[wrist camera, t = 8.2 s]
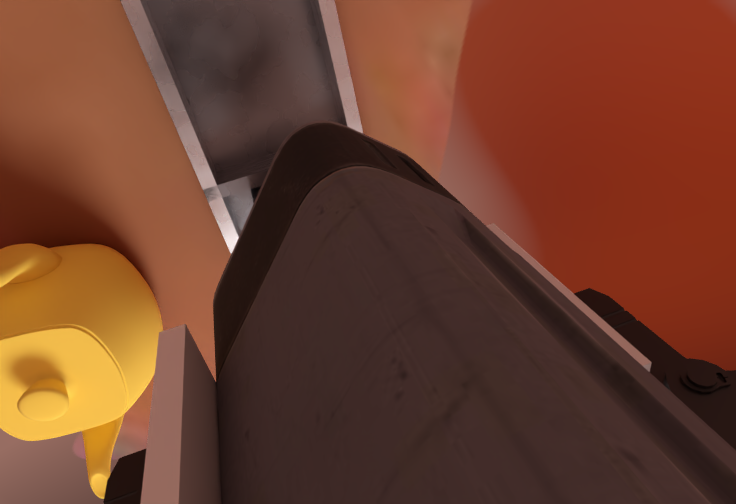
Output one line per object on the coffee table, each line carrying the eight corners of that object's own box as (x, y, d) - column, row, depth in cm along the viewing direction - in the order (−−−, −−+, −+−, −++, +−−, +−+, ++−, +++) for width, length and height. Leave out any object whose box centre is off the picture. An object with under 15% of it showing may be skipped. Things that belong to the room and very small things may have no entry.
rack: (242, 263, 42) (254, 345, 33) (117, -32, 30) (79, -31, 21) (372, 220, 44) (417, 287, 35) (304, -77, 31) (346, -95, 22)
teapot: (-137, 212, 32) (-267, 306, 23) (111, 168, 35) (80, 237, 26) (18, 428, 44) (-29, 546, 35) (194, 381, 47) (192, 479, 38)
